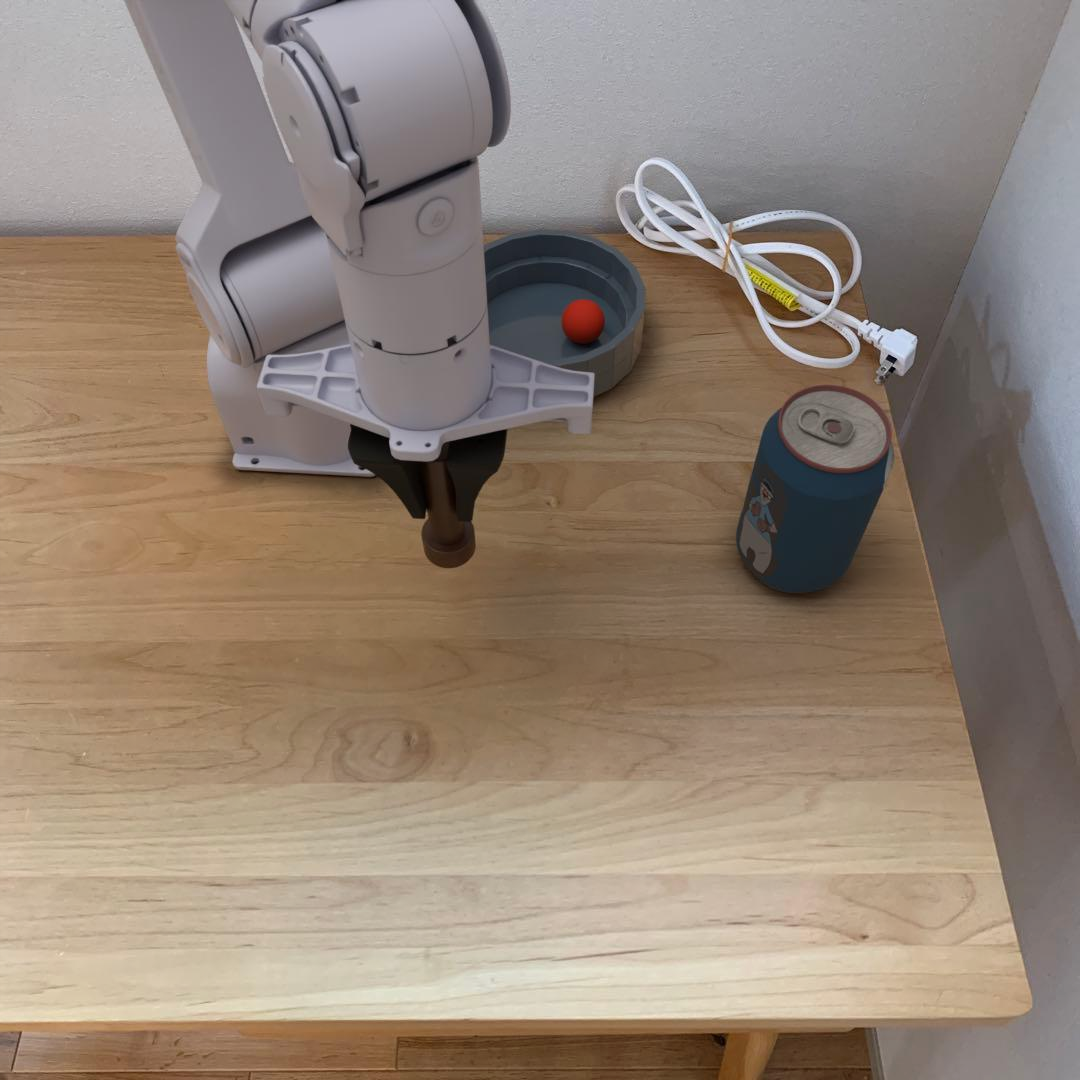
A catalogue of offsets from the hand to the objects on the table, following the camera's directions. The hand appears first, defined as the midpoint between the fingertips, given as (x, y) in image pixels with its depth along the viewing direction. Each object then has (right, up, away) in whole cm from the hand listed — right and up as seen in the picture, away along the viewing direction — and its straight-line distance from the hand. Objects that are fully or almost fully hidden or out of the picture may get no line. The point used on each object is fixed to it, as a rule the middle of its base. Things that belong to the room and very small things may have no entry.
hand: (443, 504), depth 52 cm
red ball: (+8, +13, +19) cm, 24 cm away
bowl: (+5, +12, +21) cm, 25 cm away
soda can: (+20, -3, +11) cm, 23 cm away
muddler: (0, -2, +3) cm, 4 cm away
